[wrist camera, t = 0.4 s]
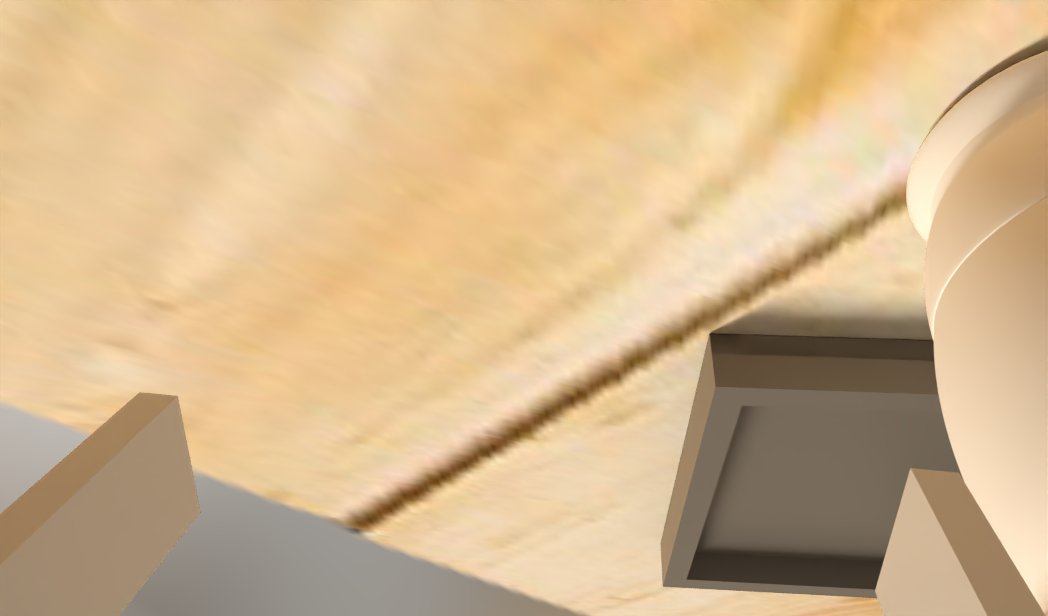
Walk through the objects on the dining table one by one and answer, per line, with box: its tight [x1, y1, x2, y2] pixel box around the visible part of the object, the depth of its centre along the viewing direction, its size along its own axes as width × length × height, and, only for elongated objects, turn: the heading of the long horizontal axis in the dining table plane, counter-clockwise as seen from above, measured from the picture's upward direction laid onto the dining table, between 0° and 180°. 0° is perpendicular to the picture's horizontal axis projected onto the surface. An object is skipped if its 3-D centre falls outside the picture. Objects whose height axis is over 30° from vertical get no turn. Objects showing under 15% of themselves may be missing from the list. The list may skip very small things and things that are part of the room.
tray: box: [661, 334, 964, 598], centre depth 37 cm, size 20×20×3 cm
